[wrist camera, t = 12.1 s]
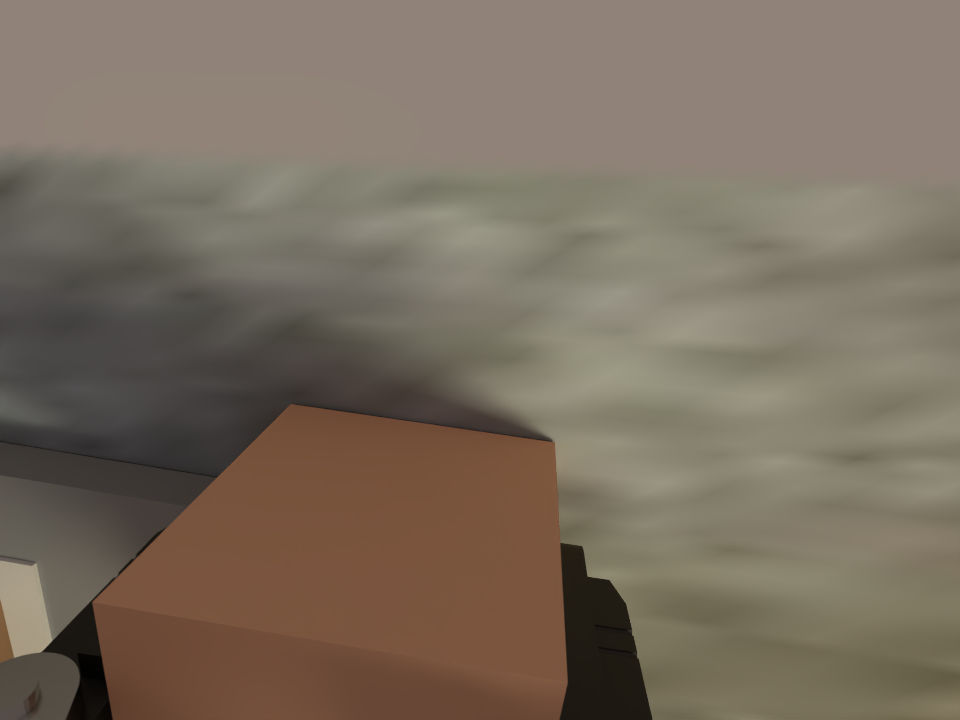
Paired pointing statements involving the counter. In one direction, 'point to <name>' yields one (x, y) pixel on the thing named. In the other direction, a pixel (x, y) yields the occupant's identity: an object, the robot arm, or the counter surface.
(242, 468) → the terracotta block
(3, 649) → the walnut block
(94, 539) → the plate
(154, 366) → the counter surface
